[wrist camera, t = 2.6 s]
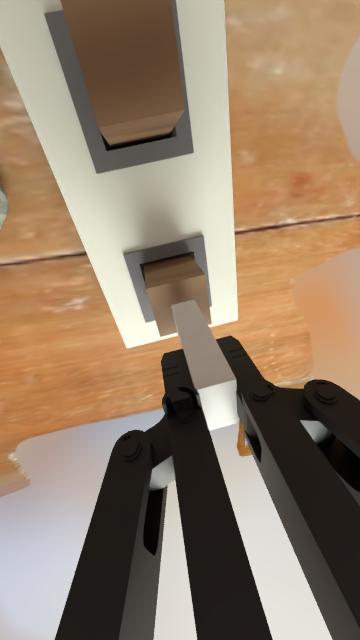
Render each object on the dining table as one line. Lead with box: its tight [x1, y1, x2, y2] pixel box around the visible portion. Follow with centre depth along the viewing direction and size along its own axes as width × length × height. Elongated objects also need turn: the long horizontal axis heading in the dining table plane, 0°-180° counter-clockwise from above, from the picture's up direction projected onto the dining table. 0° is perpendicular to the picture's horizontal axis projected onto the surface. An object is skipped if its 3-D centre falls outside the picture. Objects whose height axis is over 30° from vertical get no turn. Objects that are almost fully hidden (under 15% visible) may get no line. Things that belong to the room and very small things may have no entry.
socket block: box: [0, 0, 238, 348], centre depth 18 cm, size 24×12×6 cm, turn 11°
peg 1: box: [60, 0, 185, 148], centre depth 11 cm, size 4×4×6 cm
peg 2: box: [143, 253, 212, 337], centre depth 18 cm, size 4×4×6 cm
